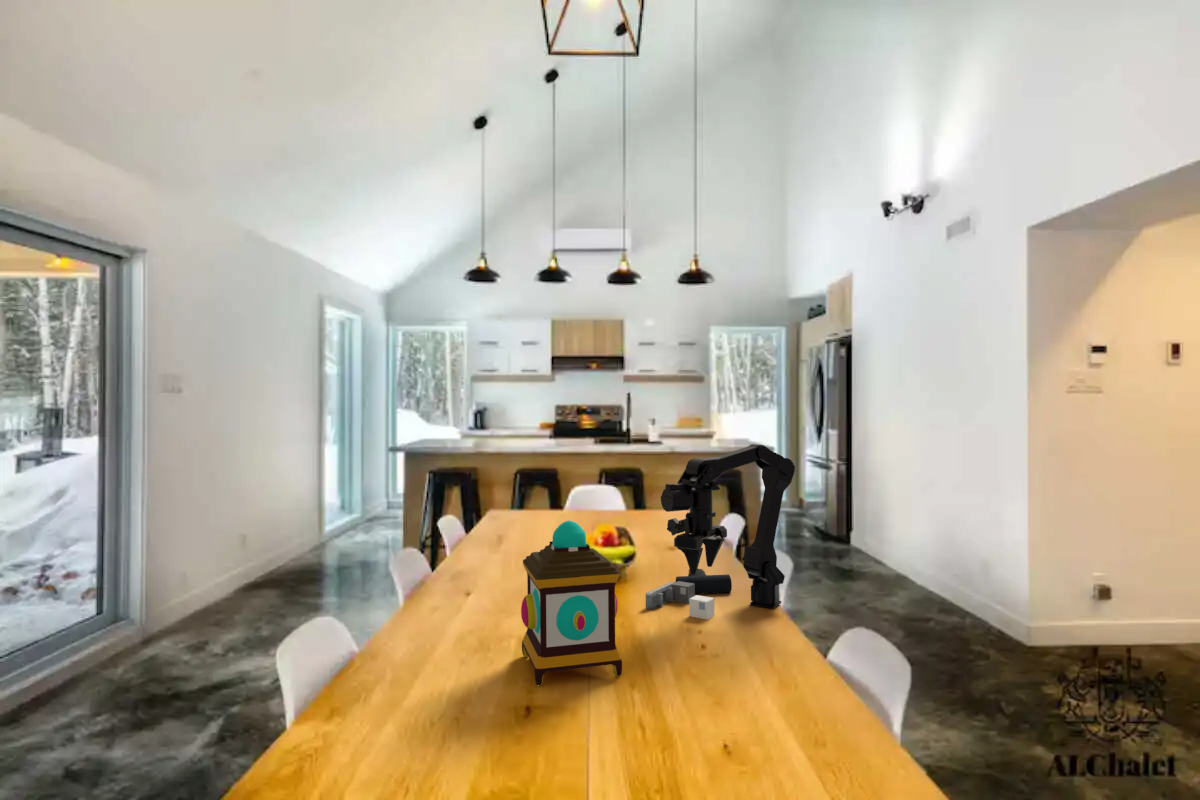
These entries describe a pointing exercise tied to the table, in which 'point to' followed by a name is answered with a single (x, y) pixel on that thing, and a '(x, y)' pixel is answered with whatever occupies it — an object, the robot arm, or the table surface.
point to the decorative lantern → (569, 606)
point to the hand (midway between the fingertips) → (701, 570)
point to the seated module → (683, 591)
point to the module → (701, 607)
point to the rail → (660, 596)
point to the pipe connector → (707, 582)
